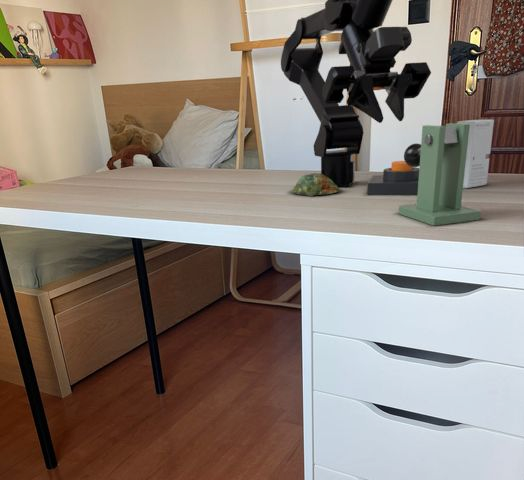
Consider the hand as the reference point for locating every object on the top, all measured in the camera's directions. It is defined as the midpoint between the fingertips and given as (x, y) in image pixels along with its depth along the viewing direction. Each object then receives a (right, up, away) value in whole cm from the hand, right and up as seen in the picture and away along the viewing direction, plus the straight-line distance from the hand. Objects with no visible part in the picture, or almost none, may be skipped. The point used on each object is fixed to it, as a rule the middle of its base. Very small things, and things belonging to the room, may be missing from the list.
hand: (391, 120), depth 90 cm
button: (+5, -4, +13) cm, 15 cm away
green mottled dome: (-11, -7, +18) cm, 22 cm away
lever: (+4, -10, -8) cm, 13 cm away
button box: (+5, -7, +15) cm, 18 cm away
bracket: (+5, -18, -8) cm, 21 cm away
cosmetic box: (+19, -7, +16) cm, 26 cm away
